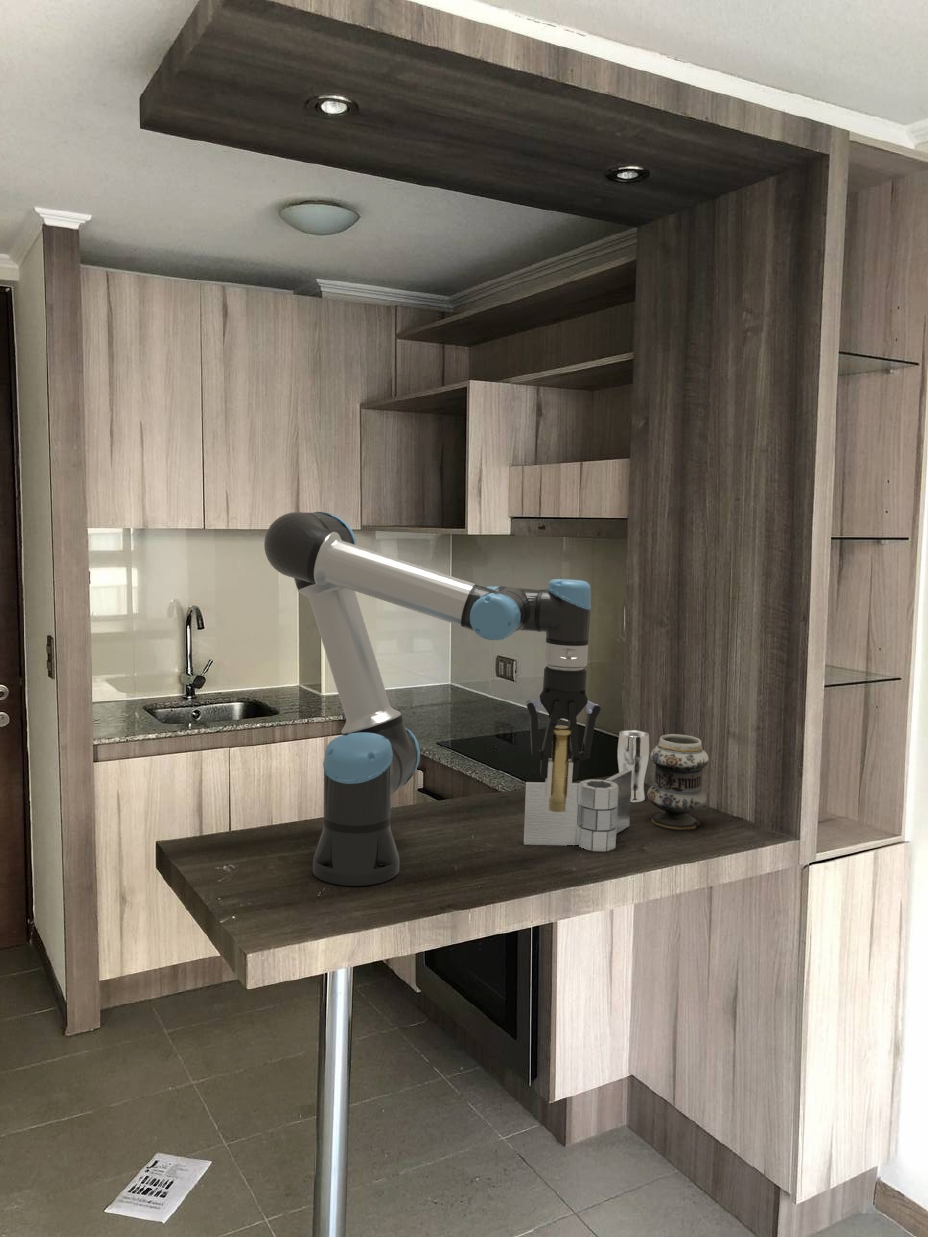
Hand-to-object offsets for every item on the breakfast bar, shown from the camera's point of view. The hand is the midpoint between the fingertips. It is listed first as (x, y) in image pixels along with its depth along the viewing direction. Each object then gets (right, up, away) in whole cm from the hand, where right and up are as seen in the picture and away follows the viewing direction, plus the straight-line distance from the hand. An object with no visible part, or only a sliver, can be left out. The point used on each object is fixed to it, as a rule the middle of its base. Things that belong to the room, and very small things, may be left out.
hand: (557, 795), depth 176 cm
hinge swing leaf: (+12, -11, +18) cm, 24 cm away
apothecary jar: (+27, -11, +29) cm, 41 cm away
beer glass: (+21, -9, +46) cm, 51 cm away
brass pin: (0, -3, 0) cm, 3 cm away
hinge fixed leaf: (+4, -12, +13) cm, 18 cm away
